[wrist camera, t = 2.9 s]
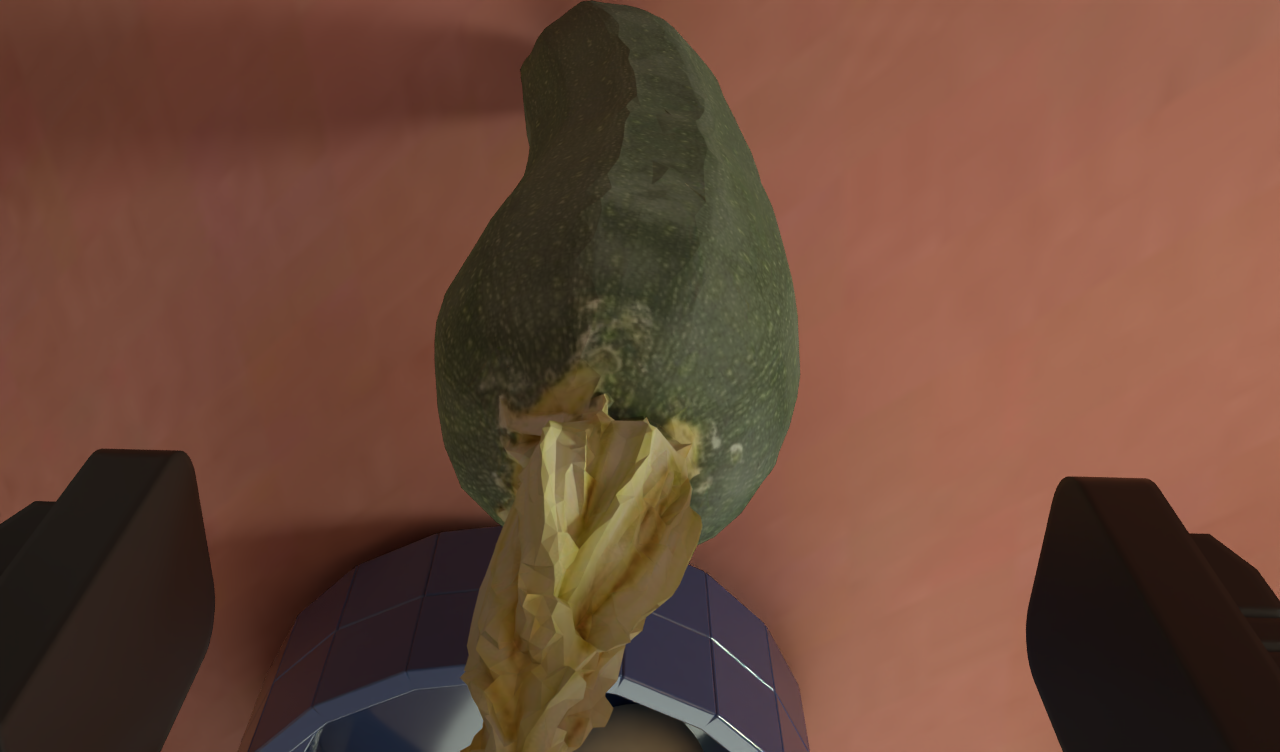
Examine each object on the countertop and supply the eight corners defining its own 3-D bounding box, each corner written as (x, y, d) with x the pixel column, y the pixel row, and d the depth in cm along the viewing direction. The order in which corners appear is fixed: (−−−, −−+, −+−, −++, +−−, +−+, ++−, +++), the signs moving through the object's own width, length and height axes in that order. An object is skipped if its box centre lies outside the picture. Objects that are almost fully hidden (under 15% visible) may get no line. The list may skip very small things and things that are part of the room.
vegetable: (671, -76, 25) (768, 423, 8) (761, 108, 27) (1006, 852, 9) (485, 26, 26) (187, 681, 9) (585, 197, 28) (507, 1025, 10)
